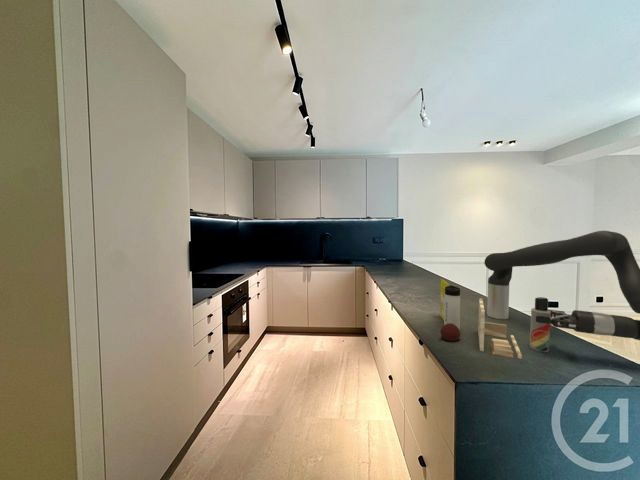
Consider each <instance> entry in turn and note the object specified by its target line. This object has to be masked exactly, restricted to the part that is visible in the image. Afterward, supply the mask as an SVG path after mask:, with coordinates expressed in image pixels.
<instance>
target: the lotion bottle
mask: <svg viewBox="0 0 640 480" xmlns="http://www.w3.org/2000/svg"><path fill="white" fill-rule="evenodd" d="M549 310H550V309H549V299H548V298H547V297H544V296H543V297H540V296H539V297H535V299H534V307H533V308H531V310H530V330H529V348H531V349H532V350H535V351H537V352H542V353H547V352H549V351H550V340H551V339H550V337H551V336H550V335H551V325H550V323H549V324H547V323H539V322H536V316H543V317H549V319H550V317H551V312H550V311H549Z"/></svg>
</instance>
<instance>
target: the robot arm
mask: <svg viewBox="0 0 640 480" xmlns="http://www.w3.org/2000/svg"><path fill="white" fill-rule="evenodd" d="M586 256H603V257H605V258H606V259H607V260H608V261H609V263H610V265H612V267H613V269H614V270H615V273H616V278H617V280H618V285H619V289H620V291H621V292H622V295H623V297H624V298H625V300H626V302H627V303H628V304H629V307H630V309H632V311H633V312H634V313H636V314H638V315H639V314H640V267H639V264H638V262H637V260H636V257H635V255H634V253H633V250H632V247H631V245H630V242H629V241H628V238H627V237H626V236H625V235H623V234H621V233H619V232H616V231H615V232H614V231H610V230H597V231H593V232H590V233H586V234H584V235H583V234H582V235H579V236H576V237H572V238H569V239H563V240H555V241H550V242H545V243H539V244H534V245H530V246H526V247H521V248H518V249H516V250H512V251H507V252H493V253H489V254H488V255H487V256H486V257H485V259H484V265H485V267H486V268H487V269H488V270H489V271H493V272H492V274H491V275H490V276H489V277H488V279H487V303H486V304H487V307H486V309H487V310H486V315H487V316H488V317H490V318H492V319H497V320H507V319H509V311H510V309H509V308H510V307H509V306H510V282H511V280H512V278H513V277H512V275H513V268H514V267H516V268H517V267H535V266H543V265H544V266H545V265H552V264H556V263H560V262H563V261H565V260H568V259H571V258H575V257H586ZM548 310H549V311H550V312H551V317H550V319H549V317H543V316H536V322H539V323H547V324H549V323H550V326H553V327H554V328H560V329H568V330H573V331H575V332H576V333H577V332H578V333H584V334H590V335H597V336H610V337H617V338H627V339H633V340H637V341H640V320H639V319H634V318H632V317H628V316H624V315H617V314H616V315H615V314H607V313H604V312H603V313H602V312H597V311H589V310H588V311H585V310H577V309H574V310H573V311H572V312H571V314H567V313H566V312H565V311H564V310H555V309H548Z"/></svg>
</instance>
